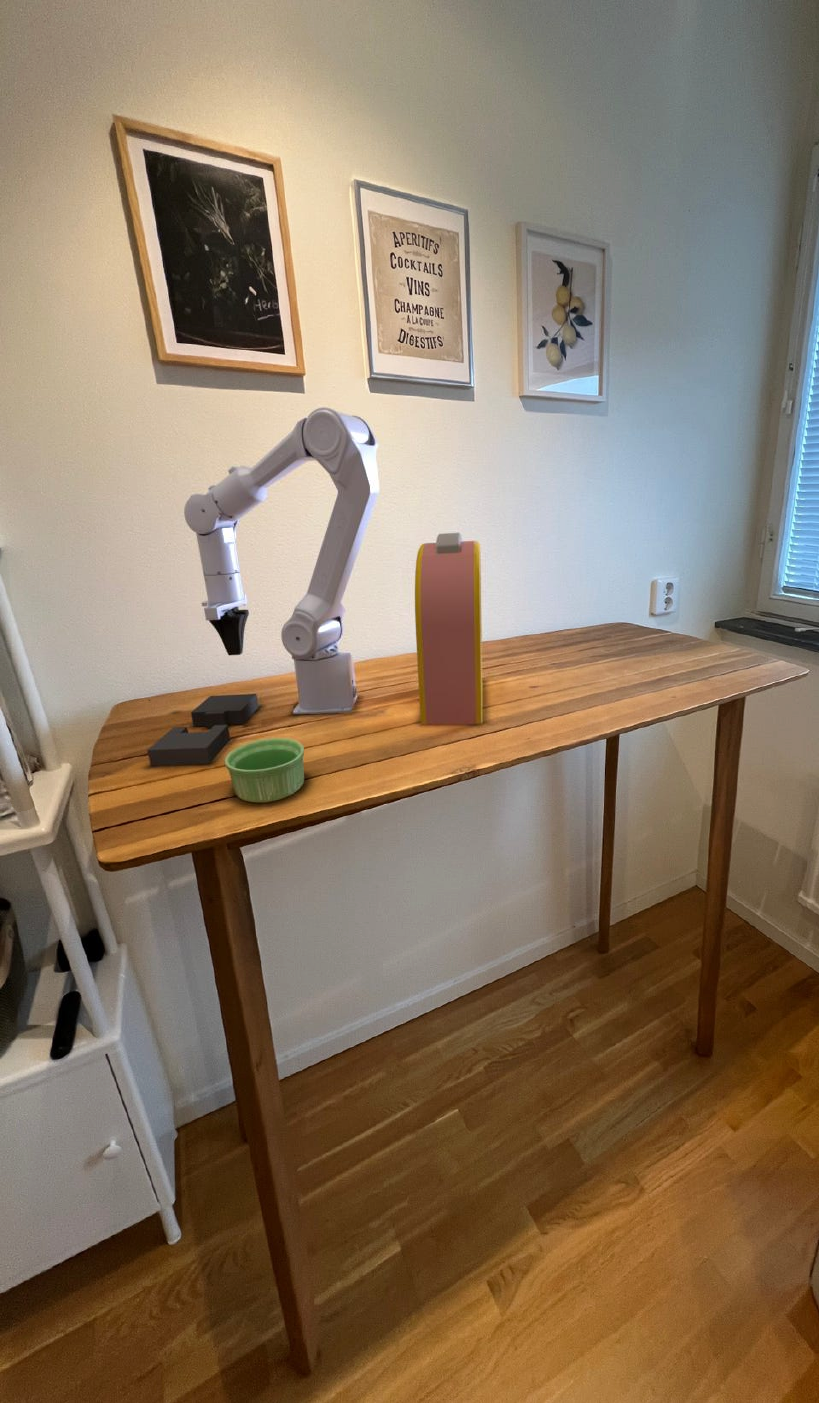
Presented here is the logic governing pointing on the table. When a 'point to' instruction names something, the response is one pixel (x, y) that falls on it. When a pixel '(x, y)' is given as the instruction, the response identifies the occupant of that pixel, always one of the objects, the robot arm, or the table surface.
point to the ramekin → (266, 769)
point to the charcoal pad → (188, 746)
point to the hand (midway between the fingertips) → (235, 654)
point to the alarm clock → (449, 630)
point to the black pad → (225, 710)
